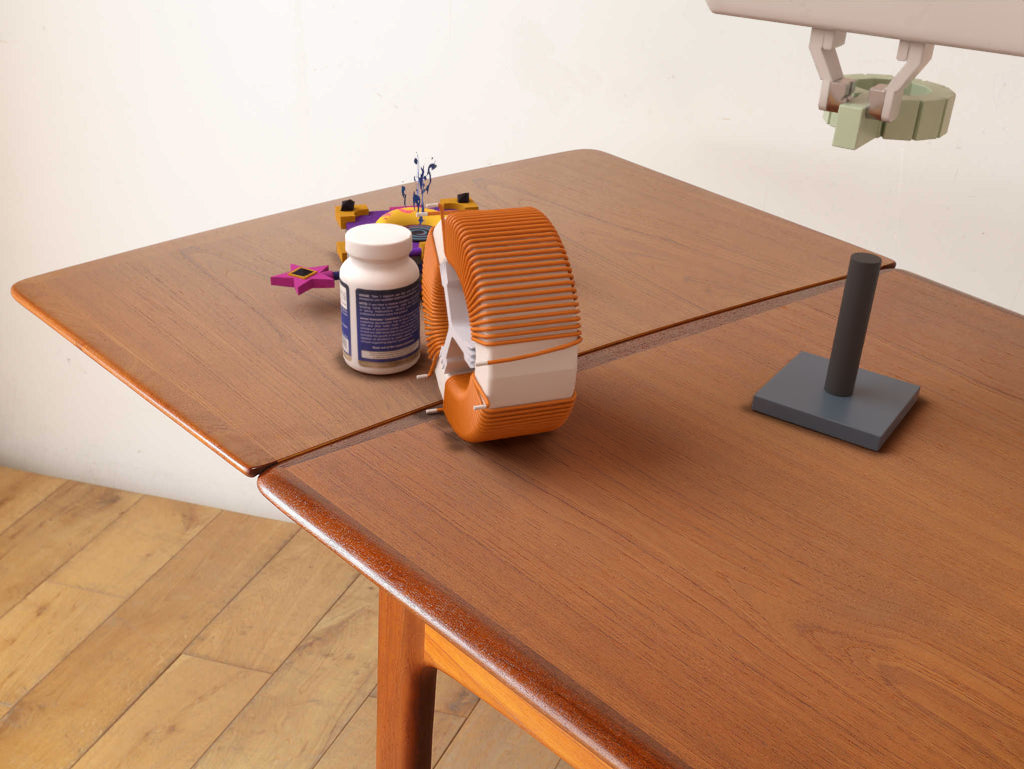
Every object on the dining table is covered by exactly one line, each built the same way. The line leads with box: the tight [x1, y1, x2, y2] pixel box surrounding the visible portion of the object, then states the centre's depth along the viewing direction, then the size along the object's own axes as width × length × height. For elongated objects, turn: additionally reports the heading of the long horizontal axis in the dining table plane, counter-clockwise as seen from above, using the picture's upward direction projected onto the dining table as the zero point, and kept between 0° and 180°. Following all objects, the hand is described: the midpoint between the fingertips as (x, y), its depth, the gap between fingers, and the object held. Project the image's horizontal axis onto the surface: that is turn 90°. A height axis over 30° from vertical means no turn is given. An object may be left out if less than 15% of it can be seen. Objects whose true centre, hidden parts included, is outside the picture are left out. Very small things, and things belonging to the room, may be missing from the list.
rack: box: [751, 251, 922, 452], centre depth 72 cm, size 9×9×11 cm
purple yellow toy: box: [269, 151, 480, 298], centre depth 90 cm, size 14×25×12 cm, turn 108°
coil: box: [416, 202, 584, 444], centre depth 67 cm, size 7×15×15 cm, turn 19°
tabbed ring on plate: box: [822, 73, 957, 151], centre depth 65 cm, size 7×11×2 cm
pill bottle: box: [339, 223, 421, 375], centre depth 76 cm, size 6×6×10 cm
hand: (856, 114), depth 61 cm, fingers closed on tabbed ring on plate, 1 cm apart
